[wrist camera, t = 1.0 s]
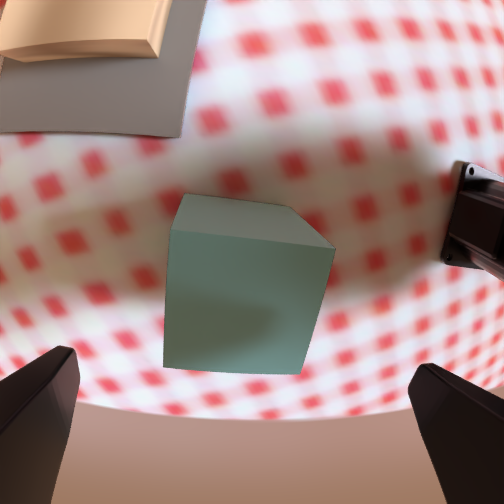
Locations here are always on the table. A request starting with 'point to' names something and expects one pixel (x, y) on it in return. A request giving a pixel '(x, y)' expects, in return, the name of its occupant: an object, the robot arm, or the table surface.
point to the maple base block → (82, 28)
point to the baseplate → (107, 86)
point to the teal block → (242, 286)
